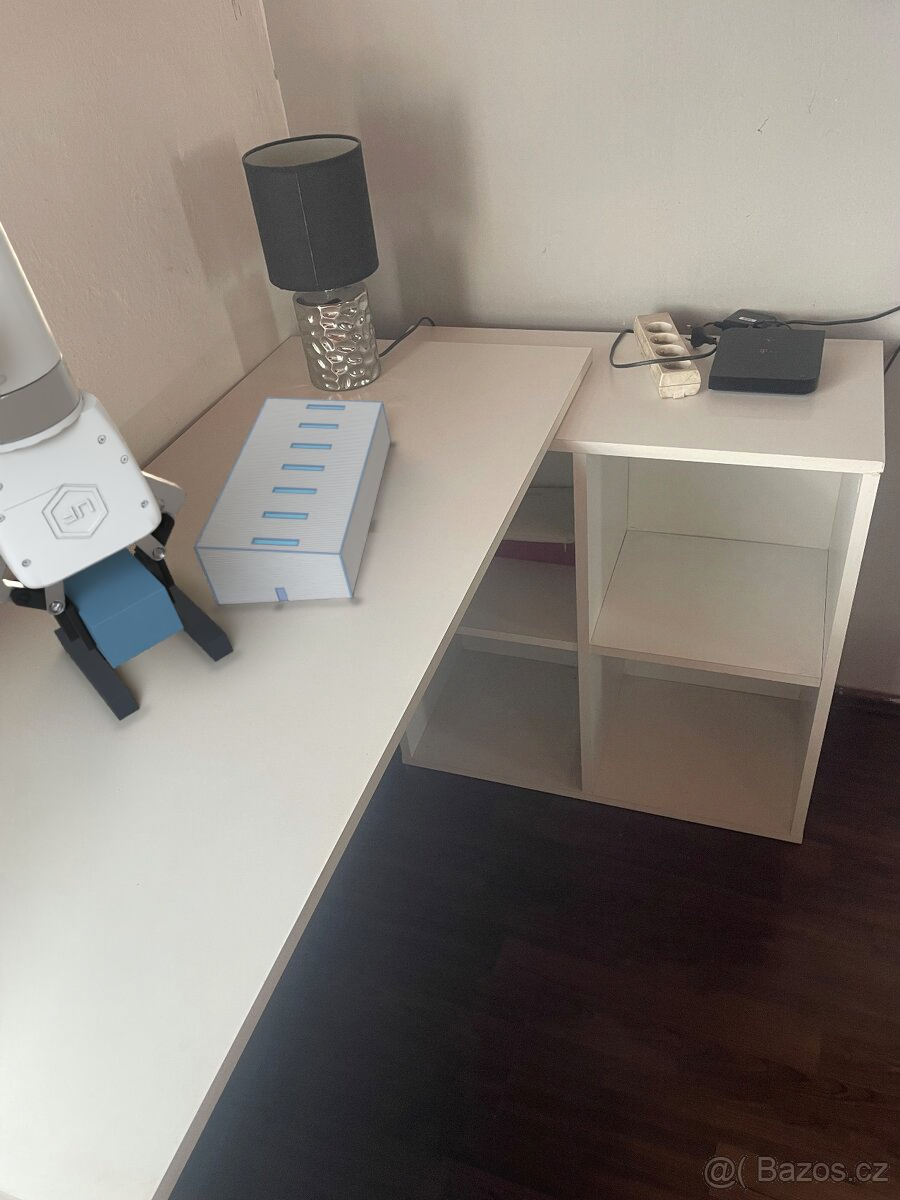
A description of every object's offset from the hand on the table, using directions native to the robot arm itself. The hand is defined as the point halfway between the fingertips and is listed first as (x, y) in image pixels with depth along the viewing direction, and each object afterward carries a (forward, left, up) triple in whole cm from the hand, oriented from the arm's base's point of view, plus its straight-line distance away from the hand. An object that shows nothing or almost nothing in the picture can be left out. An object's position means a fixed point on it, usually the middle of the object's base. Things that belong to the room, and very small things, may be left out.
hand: (125, 616), depth 64 cm
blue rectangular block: (0, 0, -1) cm, 1 cm away
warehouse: (+27, +22, -16) cm, 38 cm away
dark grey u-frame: (+3, +16, -16) cm, 22 cm away
